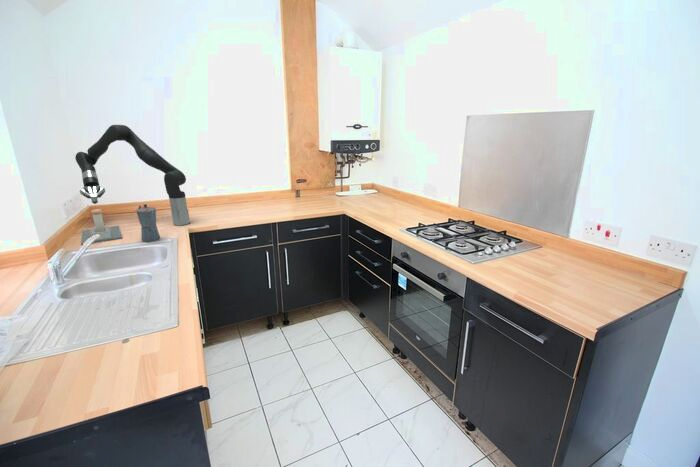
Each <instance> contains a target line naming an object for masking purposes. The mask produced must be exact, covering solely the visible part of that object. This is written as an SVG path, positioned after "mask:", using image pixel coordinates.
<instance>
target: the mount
mask: <svg viewBox="0 0 700 467" xmlns="http://www.w3.org/2000/svg"><path fill="white" fill-rule="evenodd" d="M104 227H105V229H106V231H102V232H96V231H95V229H96V227H93V228H90V229H89V230H90V235H91V237H92V236H93V235H96V234H99V235H100V237H99V238H98V239H97V240H103V239H109V238H112V236H111V231H110V227H111V225H108V226H107V225H106V226H104ZM97 240H95V241H97Z"/></svg>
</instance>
